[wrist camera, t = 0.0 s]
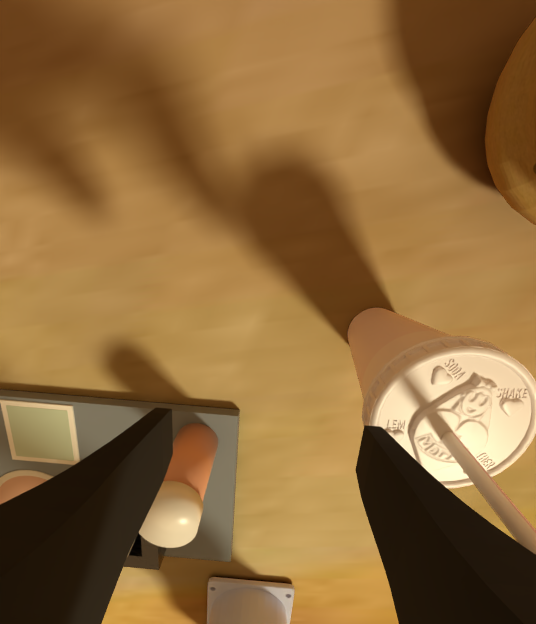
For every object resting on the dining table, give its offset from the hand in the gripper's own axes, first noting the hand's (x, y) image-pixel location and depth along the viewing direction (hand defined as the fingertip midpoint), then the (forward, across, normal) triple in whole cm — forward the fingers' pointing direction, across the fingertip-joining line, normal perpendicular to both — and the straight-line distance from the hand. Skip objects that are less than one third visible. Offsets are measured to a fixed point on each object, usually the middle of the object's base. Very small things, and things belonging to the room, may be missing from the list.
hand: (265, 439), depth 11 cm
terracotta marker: (+9, +5, +8) cm, 14 cm away
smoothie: (+10, -7, -1) cm, 12 cm away
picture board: (+10, +12, +14) cm, 21 cm away
